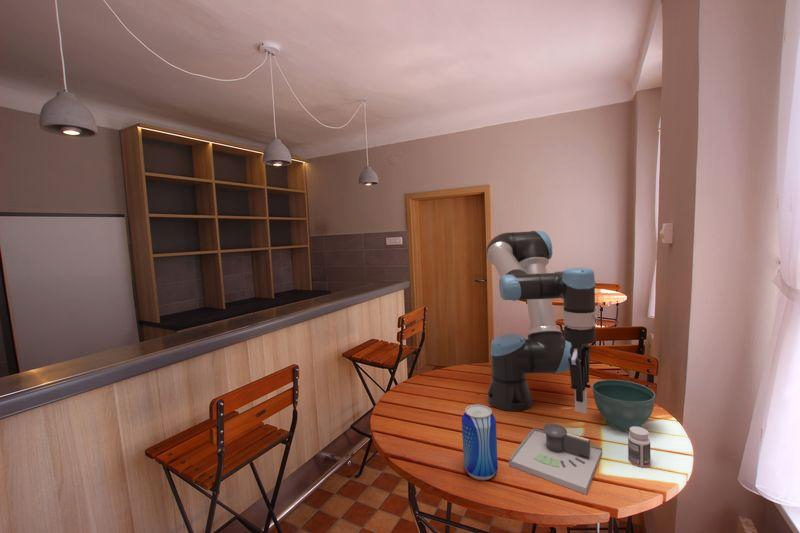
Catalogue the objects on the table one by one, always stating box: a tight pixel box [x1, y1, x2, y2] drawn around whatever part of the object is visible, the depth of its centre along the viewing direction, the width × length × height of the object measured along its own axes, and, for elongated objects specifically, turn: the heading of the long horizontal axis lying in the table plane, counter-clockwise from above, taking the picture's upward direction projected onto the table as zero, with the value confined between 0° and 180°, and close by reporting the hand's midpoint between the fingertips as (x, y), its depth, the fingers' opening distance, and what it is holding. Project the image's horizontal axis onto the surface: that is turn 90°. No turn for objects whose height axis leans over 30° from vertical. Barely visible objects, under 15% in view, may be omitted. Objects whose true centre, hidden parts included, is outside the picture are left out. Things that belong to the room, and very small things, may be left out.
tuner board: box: [508, 427, 603, 495], centre depth 93 cm, size 18×18×2 cm
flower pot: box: [591, 379, 656, 432], centre depth 108 cm, size 16×16×11 cm
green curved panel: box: [534, 453, 590, 468], centre depth 91 cm, size 11×9×1 cm
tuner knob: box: [543, 423, 591, 457], centre depth 94 cm, size 11×6×5 cm, turn 50°
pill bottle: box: [627, 426, 652, 468], centre depth 90 cm, size 5×5×8 cm
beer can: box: [461, 403, 499, 481], centre depth 90 cm, size 8×8×16 cm
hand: (581, 411), depth 97 cm, fingers closed
